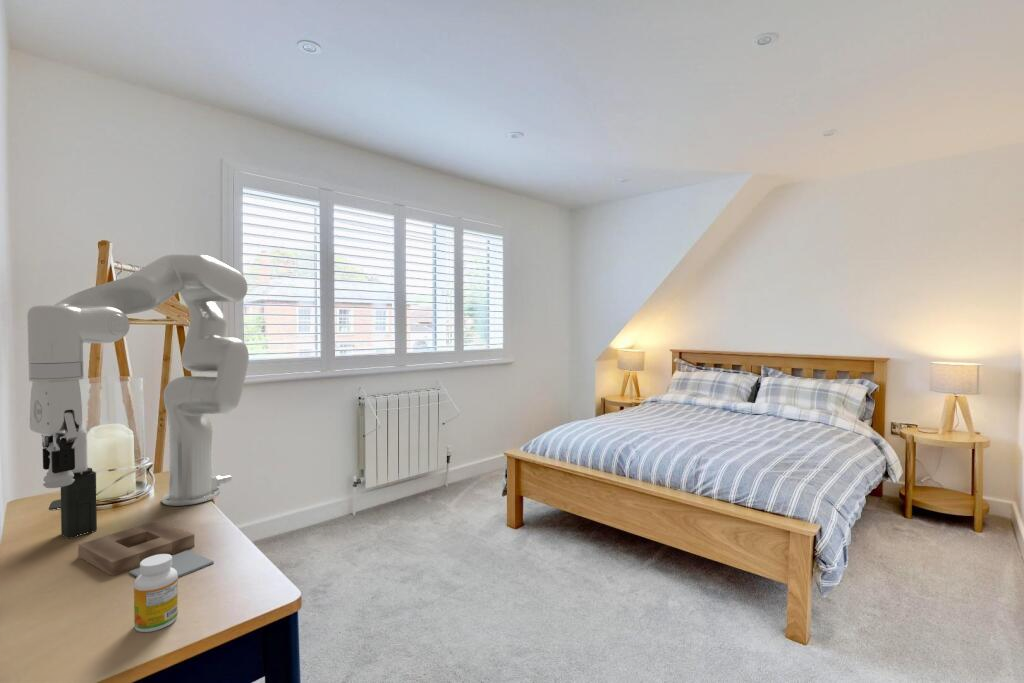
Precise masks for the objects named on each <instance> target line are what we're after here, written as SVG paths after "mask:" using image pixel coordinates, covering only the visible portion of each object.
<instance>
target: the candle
mask: <svg viewBox="0 0 1024 683" xmlns="http://www.w3.org/2000/svg"><path fill="white" fill-rule="evenodd" d="M77 435H78V437H77V439H76V440H75V469H73V470H71V472H73V474H74V477H73V479H75V481H74V482H73V483H72V484H70V485H68V486H64V487H60V499H61V509H60V524H61V525H60V526H61V528H60V530H61V533H60V534H61V536H63V535H64V536H63V537H65V538H66V537H68V538H67V539H71V538H70V537H75V536H77V535H80V534H84V533H87V532H92V531H95V530H96V529H97V530H98V520H97V516H98V514H97V504H98V503H96V493H97V472H96V471H93V468H92V467H88V433H87V431H86V430H85V428H84V427H83V426H82V428H81V430H80V431H78V432H77ZM95 532H96V531H95ZM84 535H85V534H84ZM77 537H78V536H77ZM75 538H76V537H75Z"/></svg>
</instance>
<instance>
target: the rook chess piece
mask: <svg viewBox="0 0 1024 683" xmlns="http://www.w3.org/2000/svg"><path fill="white" fill-rule="evenodd" d="M59 442H60V441H59ZM47 450H48V451H49V452H50V456H49V458H50V465H49V469H48V471H47V472H46V475H45V476H44V477H43V481H44V483H43V484H42V486H44V487H45V488H47V489H57V488H61V487H64V486H68V485H70V484H72V483H73V482H74V481H75V479H73V477H74V474H73V472H71V470H69V471H64V472H59V473H53V472H52V457H51V452H52V451H54V445H53V442H52V443H49V447H48V448H47Z"/></svg>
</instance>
